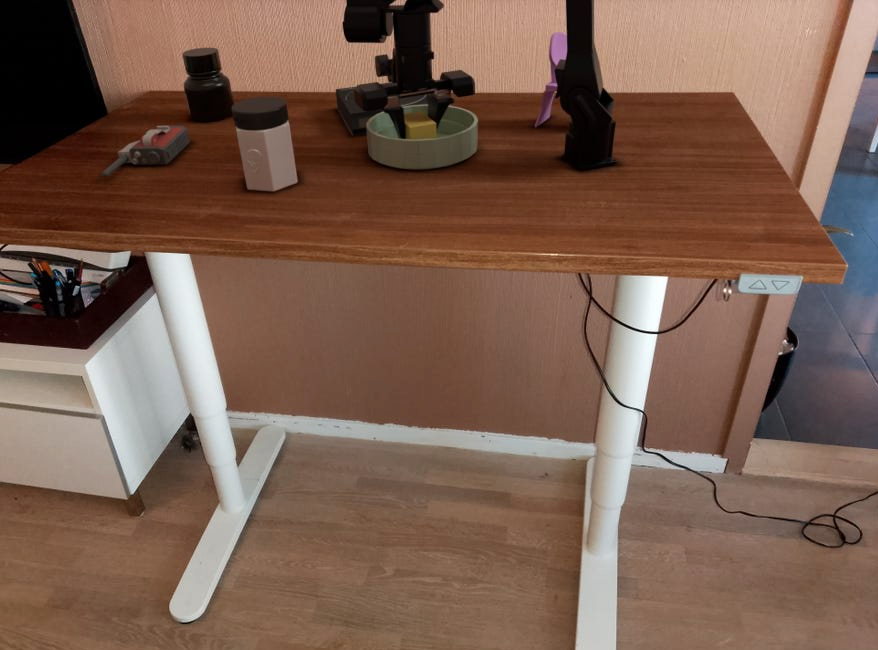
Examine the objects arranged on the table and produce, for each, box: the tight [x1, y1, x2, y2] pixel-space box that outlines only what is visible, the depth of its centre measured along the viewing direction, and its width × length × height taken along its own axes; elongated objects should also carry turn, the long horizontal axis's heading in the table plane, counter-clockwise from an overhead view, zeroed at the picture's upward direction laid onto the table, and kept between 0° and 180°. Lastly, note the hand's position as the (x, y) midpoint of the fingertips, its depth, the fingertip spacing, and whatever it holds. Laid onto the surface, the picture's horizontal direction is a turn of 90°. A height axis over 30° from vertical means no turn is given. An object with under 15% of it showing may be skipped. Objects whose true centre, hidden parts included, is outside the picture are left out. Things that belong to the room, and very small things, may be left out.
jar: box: [232, 96, 298, 193], centre depth 110 cm, size 9×8×12 cm
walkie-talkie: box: [101, 125, 191, 178], centre depth 123 cm, size 9×4×20 cm
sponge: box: [398, 111, 436, 139], centre depth 119 cm, size 4×7×5 cm, turn 18°
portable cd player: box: [335, 82, 428, 137], centre depth 135 cm, size 16×17×4 cm
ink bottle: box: [181, 47, 235, 122], centre depth 140 cm, size 10×9×12 cm
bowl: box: [366, 104, 479, 170], centre depth 119 cm, size 18×18×5 cm
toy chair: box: [534, 31, 567, 128], centre depth 123 cm, size 8×9×15 cm
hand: (416, 143), depth 120 cm, fingers closed on sponge, 4 cm apart
